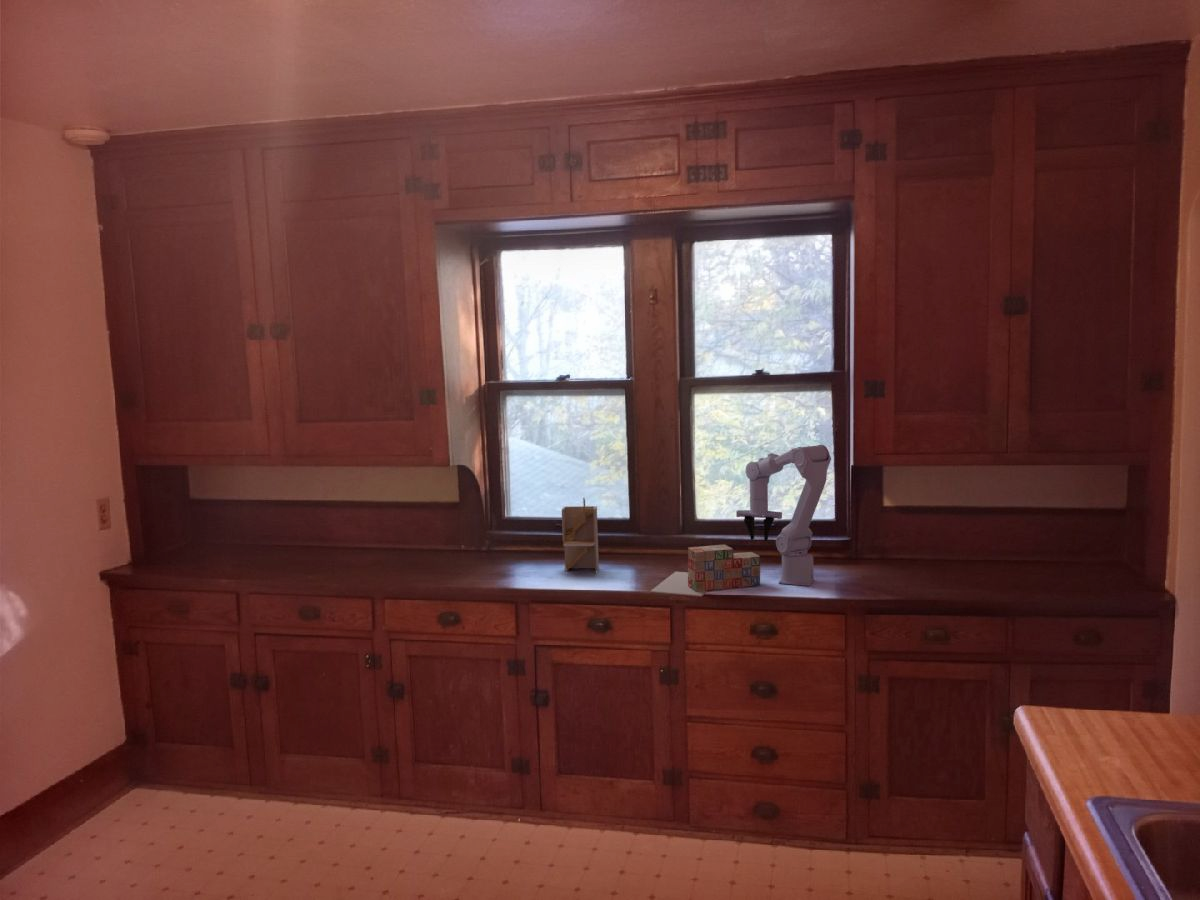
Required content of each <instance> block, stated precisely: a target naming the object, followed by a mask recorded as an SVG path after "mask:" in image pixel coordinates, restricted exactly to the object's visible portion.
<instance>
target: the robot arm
mask: <svg viewBox="0 0 1200 900" xmlns="http://www.w3.org/2000/svg"><path fill="white" fill-rule="evenodd" d="M831 461H832V457H831V454H830V452H829V449H828V447H827V446H826V445H824V444H817V445H810V446H809V445H808V446H797V447H793V448H791V449H790V450H788V451H786V452H784V453H782V454H780V455H778V454H775V453H768V454H767V456H765V457H761V458H759V459H758V460H757V461H749V462H748V463H747V464H746V467H745V473H746V477H747V478H748V479H749V509H747V510H746V509H743V510H741V509H739V510H738V509H737V510H736V514H735V515H736V516H735V517H736V518H740V517H741V518H744V519H743V522H744V524H745V526H746V528H747V530H748V532H749V536H750V540H751V541H752V540H754V539H755V518H759V519H760V518H761V519H763V518H764V519H763V529H764V534H763V535H764V536H763V538H764V539H763V540H764V541H765V542H766V541H768V540H769V535H770V530H771V527H772V525H773V523H774V521H775V519H778V520H781V519H783V511H772V510H769V497H768V496H769V494H768V493H769V490H768V489H769V486H768V485H769V483H770V478H771V476H772V475H774V474H777V473H779V472H781V471H783V469H784V466H786V465H787V466H788V465H789V464H794V466H795V468H796V469H797V471H798V472H799V475H800V476H801V477H802V478H803V479H804V480H805V483H804V485H803V488H802V490H801V493H800V496H799V498H798V501H797V504H796V506H795V509H794V511H793V515H792V518H791V520H790V522H789V523H788V524H787V525H786V526H784V527H783V528H782V529H781V532H780V533H779V534H778V535H777V536H776V538H775V546H776V548H777V551H778V553H779V554H780V555H781V578H780V579H779V581H778V584H780V583H781V584H782V585H793V586H795V585H796V586H805V587H806V586H811V585H812V583H813V581H814V579H815V578H814V556H813V554H808V550H809V549H810V548H811V546H812V539H813V538H812V537H813V531H812V530H811V528H809V527H810V525H811V522H812V519H813V518H814V514H815V512H816V509H817V506H818V504H819V501H820V499H821V496H822V493H823V490H824V488H825V485H826V482H827V476H828V475H827V474H828V468H829V466H830V464H831Z"/></svg>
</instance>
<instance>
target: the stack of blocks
mask: <svg viewBox="0 0 1200 900" xmlns="http://www.w3.org/2000/svg"><path fill="white" fill-rule="evenodd" d="M687 548H688V549H687V550H688V551H687V556H688V557H687V572H688V586H689V587H690V588H691V589H693V590H694V591H707V590H708V591H715V590H716V591H717V590H724V589H734V588H745V587H756V586H758V587H759V586H760V585H761V555H759V554H756V553H754V552H753V551H748V552H746V551H745V552H734V548H732V547H730V546H728V545H727V544H714V545H705V546H704V545H703V546H691V547H687ZM708 591H707V592H708Z"/></svg>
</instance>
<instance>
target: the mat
mask: <svg viewBox="0 0 1200 900" xmlns="http://www.w3.org/2000/svg"><path fill="white" fill-rule="evenodd" d="M707 592H709V590H707V591H694V590H693V589H691V588H690V587H689V586H688V571H687V572H685V571H674V572H673V573H672V574H671V575H668V577H667V578H664V580H663V581H661V582H660V583H659V584H657V585H656V586H655V587H654V588H652V589H651V590H650V593H653V594H654V593H655V594H665V595H666V594H667V595H679V596H688V597H698V598H699V597H701V598H702V597H704V595H705V594H706V593H707Z"/></svg>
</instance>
